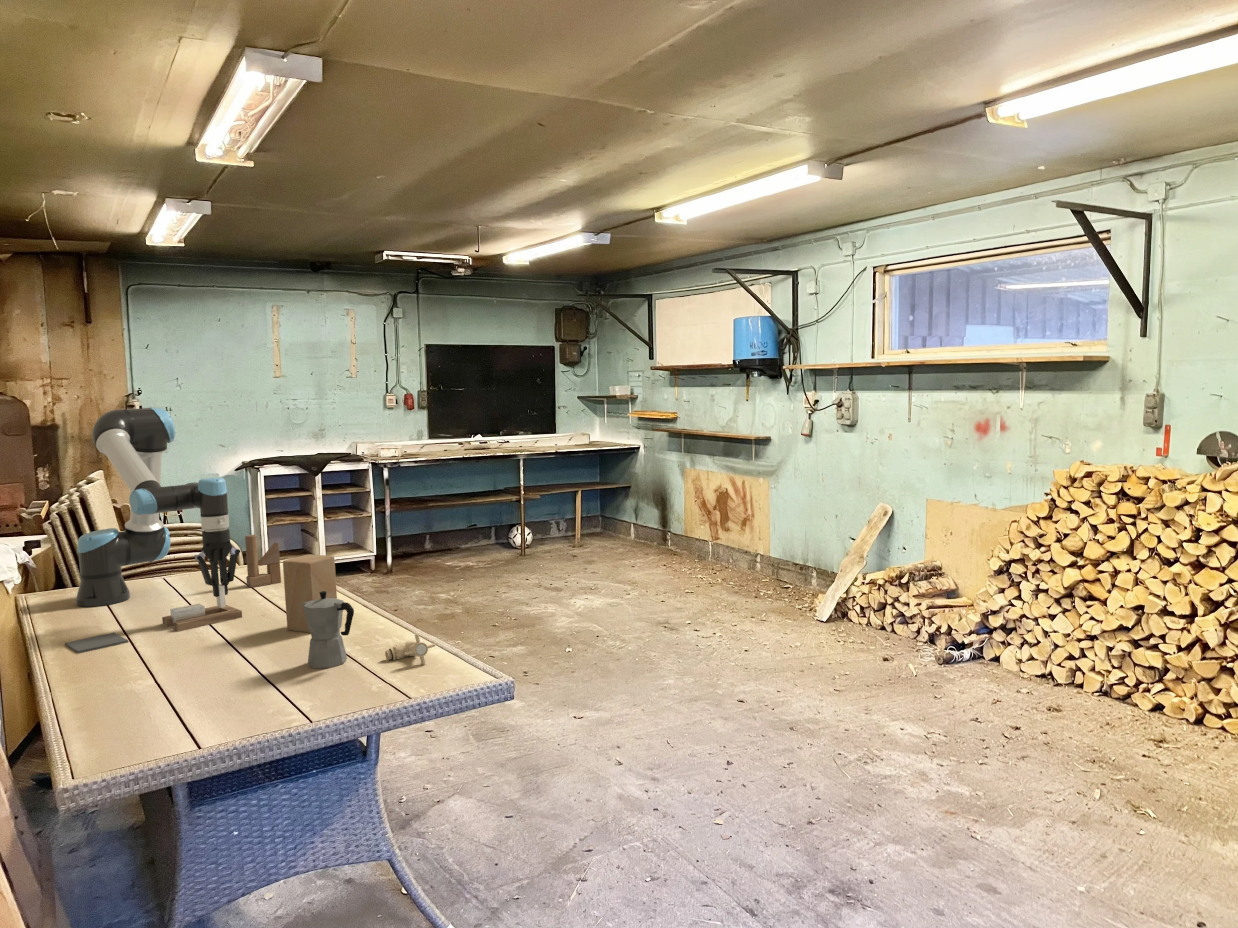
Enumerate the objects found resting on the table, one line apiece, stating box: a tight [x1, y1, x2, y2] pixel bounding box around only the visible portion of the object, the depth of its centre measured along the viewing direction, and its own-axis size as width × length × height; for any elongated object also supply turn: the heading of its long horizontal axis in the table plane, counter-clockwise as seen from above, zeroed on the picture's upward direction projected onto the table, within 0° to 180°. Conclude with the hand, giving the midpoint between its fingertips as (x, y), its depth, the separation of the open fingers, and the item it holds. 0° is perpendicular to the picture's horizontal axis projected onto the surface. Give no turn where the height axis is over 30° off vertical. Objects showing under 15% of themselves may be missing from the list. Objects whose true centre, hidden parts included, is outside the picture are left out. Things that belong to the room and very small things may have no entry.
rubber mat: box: [64, 632, 129, 654], centre depth 230 cm, size 12×12×1 cm
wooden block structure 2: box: [244, 534, 282, 589], centre depth 296 cm, size 4×11×18 cm, turn 132°
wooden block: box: [282, 553, 338, 634], centre depth 239 cm, size 10×10×20 cm
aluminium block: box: [170, 603, 206, 627], centre depth 248 cm, size 4×8×5 cm, turn 135°
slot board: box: [161, 604, 243, 632], centre depth 251 cm, size 13×18×2 cm
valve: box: [384, 633, 437, 666], centre depth 208 cm, size 8×12×10 cm
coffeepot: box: [302, 591, 355, 670], centre depth 207 cm, size 15×9×18 cm, turn 68°
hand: (221, 606), depth 255 cm, fingers closed
